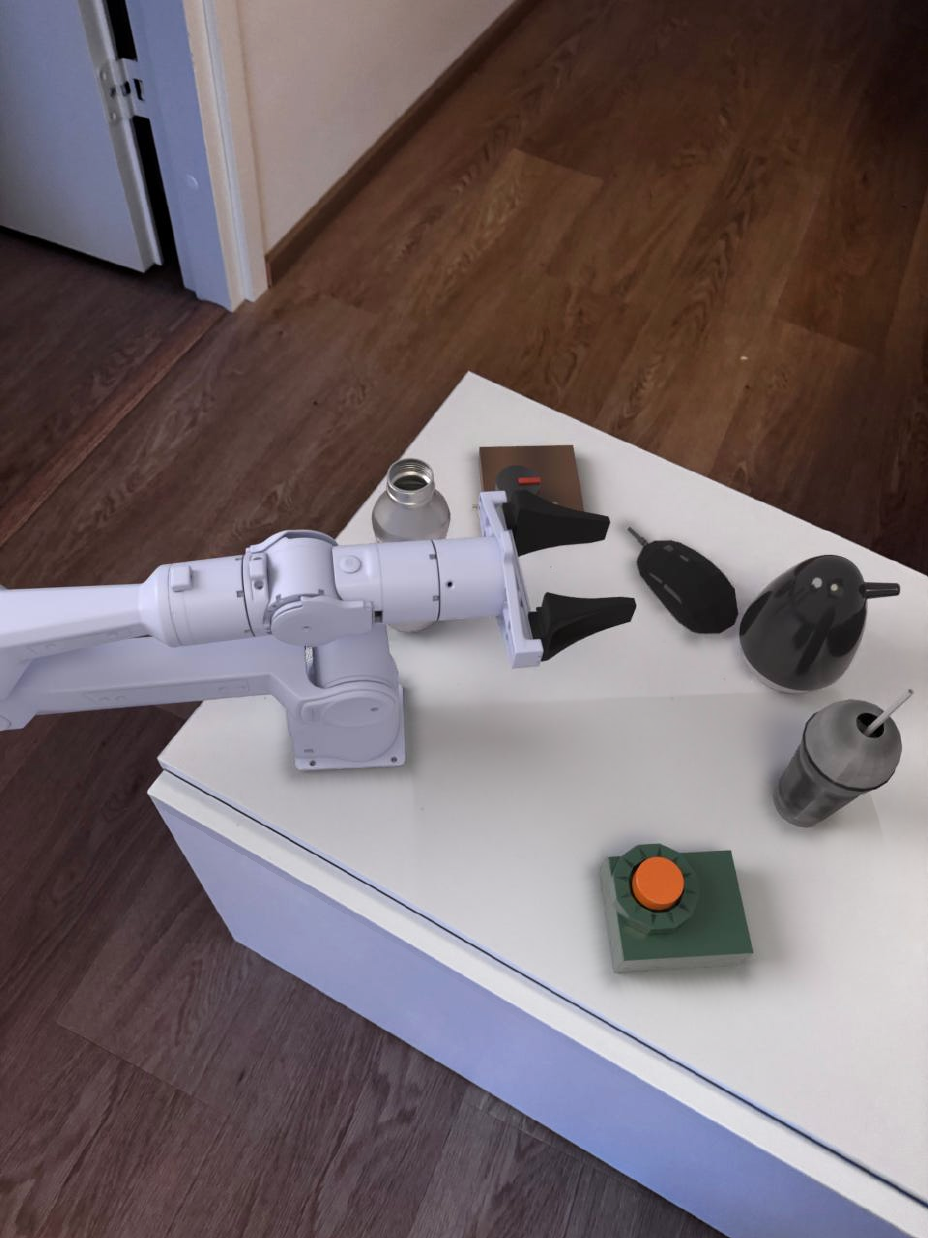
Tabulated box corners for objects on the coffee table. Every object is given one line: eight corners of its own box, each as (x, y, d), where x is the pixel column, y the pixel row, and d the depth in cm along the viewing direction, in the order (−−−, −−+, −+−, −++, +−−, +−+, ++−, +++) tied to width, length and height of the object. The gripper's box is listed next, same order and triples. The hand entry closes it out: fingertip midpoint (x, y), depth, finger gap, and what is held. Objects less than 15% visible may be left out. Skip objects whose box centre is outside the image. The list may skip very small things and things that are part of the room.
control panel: (474, 552, 97) (475, 540, 95) (465, 459, 103) (466, 445, 102) (586, 549, 98) (589, 536, 96) (570, 457, 104) (573, 443, 102)
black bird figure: (838, 719, 89) (910, 633, 76) (724, 697, 90) (777, 608, 77) (837, 627, 94) (904, 532, 81) (730, 606, 95) (780, 509, 82)
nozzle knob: (495, 523, 97) (498, 498, 93) (491, 488, 99) (494, 463, 96) (538, 521, 97) (543, 497, 94) (534, 487, 99) (538, 462, 96)
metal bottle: (367, 592, 94) (357, 453, 77) (434, 577, 95) (439, 436, 78) (384, 647, 91) (378, 515, 74) (453, 631, 92) (463, 497, 75)
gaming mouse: (652, 516, 100) (660, 491, 97) (748, 619, 94) (761, 597, 91) (604, 542, 98) (611, 518, 95) (699, 649, 92) (710, 627, 89)
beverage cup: (742, 778, 85) (824, 668, 68) (813, 753, 87) (910, 638, 70) (784, 854, 82) (882, 758, 65) (857, 826, 83) (971, 725, 66)
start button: (635, 911, 73) (640, 905, 72) (628, 865, 75) (632, 857, 74) (682, 909, 73) (688, 902, 72) (674, 862, 75) (679, 855, 74)
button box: (610, 973, 76) (624, 955, 71) (595, 870, 80) (608, 846, 75) (738, 965, 77) (761, 947, 72) (716, 863, 81) (736, 839, 76)
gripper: (453, 632, 61) (659, 616, 63) (423, 465, 69) (606, 456, 71) (445, 690, 67) (634, 674, 69) (418, 530, 75) (588, 520, 77)
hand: (619, 567), depth 70 cm, fingers open, 7 cm apart
